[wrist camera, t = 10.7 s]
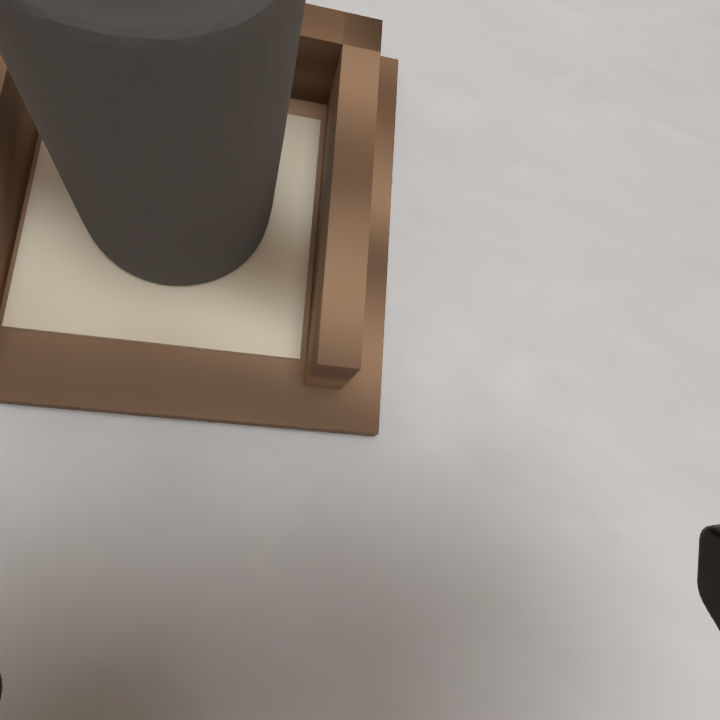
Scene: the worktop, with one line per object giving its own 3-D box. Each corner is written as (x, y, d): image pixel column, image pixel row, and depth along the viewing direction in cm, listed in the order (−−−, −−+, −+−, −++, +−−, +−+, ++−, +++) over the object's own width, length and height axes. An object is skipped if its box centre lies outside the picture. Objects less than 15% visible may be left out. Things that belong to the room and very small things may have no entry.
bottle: (37, 209, 19) (-565, -773, 4) (164, 88, 20) (30, -885, 6) (194, 325, 19) (106, -258, 5) (306, 194, 21) (491, -515, 6)
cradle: (374, 435, 20) (404, 420, 17) (-108, 393, 17) (-189, 364, 14) (394, 70, 24) (423, -5, 20) (-5, -12, 21) (-50, -115, 17)
